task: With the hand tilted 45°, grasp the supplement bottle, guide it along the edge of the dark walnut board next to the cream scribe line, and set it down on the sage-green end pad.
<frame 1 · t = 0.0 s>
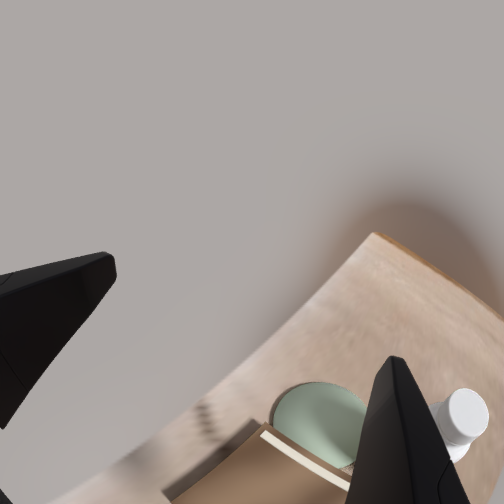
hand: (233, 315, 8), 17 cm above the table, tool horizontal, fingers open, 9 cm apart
end pad: (324, 425, 20), on the table
supplement bottle: (395, 466, 16), on the table
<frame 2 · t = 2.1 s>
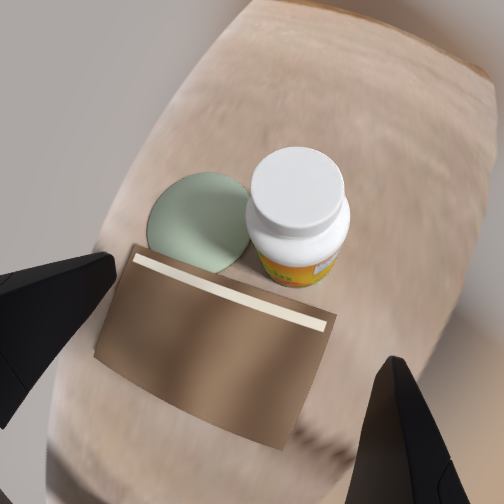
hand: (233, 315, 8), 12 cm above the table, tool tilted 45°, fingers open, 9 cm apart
end pad: (199, 222, 23), on the table
walnut board: (203, 344, 20), on the table
supplement bottle: (298, 253, 21), on the table
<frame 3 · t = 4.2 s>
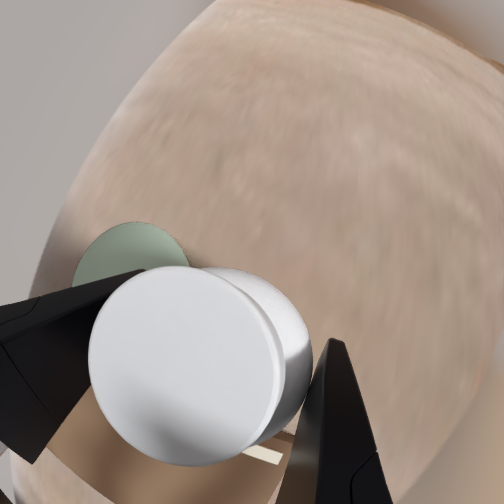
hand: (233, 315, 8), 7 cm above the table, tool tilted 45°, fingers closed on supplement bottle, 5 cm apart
end pad: (125, 295, 16), on the table
walnut board: (137, 446, 13), on the table
supplement bottle: (252, 351, 14), on the table, touching gripper
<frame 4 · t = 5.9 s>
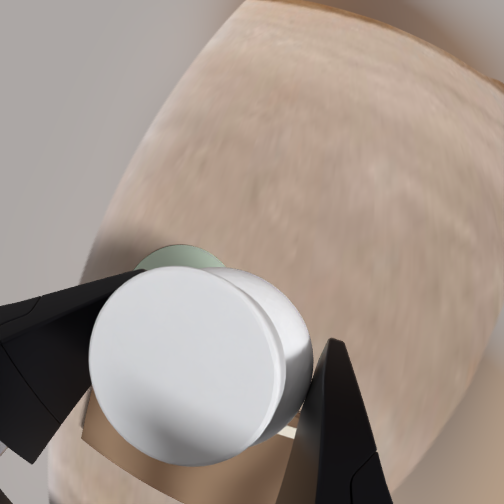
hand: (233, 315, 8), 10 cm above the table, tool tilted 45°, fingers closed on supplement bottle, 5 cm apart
end pad: (176, 309, 19), on the table
walnut board: (189, 441, 16), on the table
supplement bottle: (253, 351, 14), point 3 cm above the table, touching gripper
when the fingers open (8 cm above the table, at t = 7.8 s): supplement bottle drops 1 cm, resting on end pad.
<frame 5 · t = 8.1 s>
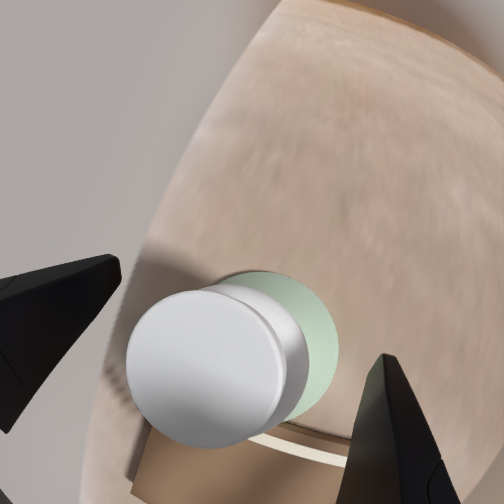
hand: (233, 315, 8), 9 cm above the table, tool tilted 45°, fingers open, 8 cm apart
end pad: (258, 350, 16), on the table
walnut board: (269, 490, 13), on the table
supplement bottle: (256, 353, 15), resting on end pad
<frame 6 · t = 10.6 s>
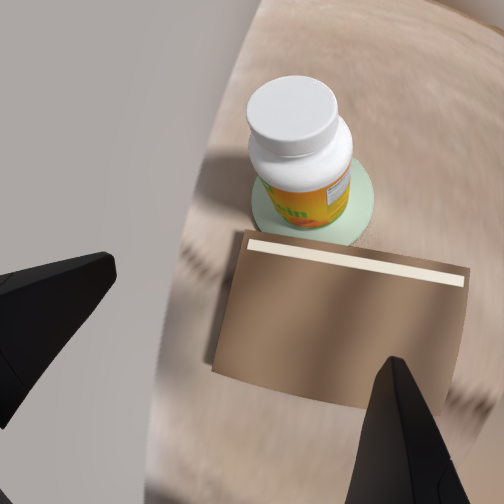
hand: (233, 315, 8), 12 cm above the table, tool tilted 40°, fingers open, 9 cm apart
end pad: (312, 196, 20), on the table
walnut board: (347, 326, 17), on the table
supplement bottle: (311, 198, 20), resting on end pad
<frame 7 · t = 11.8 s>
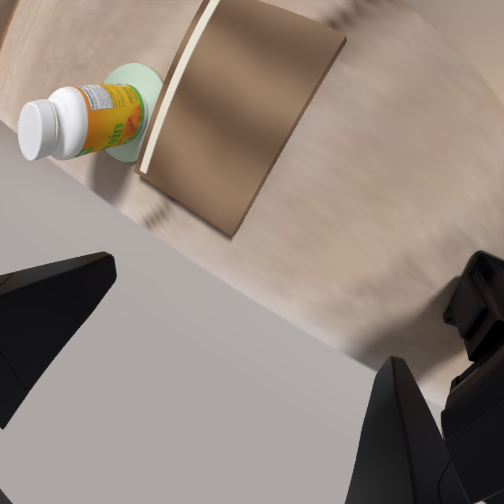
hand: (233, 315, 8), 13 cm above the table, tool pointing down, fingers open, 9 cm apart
end pad: (128, 112, 21), on the table
walnut board: (226, 105, 18), on the table
supplement bottle: (128, 113, 20), resting on end pad
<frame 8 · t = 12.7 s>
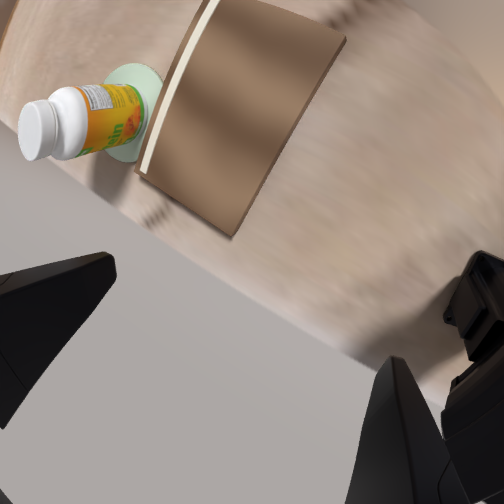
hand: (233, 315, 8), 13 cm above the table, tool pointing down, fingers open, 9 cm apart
end pad: (128, 112, 21), on the table
walnut board: (226, 105, 18), on the table
supplement bottle: (128, 113, 20), resting on end pad
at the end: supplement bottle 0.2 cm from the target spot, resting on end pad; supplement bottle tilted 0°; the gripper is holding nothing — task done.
